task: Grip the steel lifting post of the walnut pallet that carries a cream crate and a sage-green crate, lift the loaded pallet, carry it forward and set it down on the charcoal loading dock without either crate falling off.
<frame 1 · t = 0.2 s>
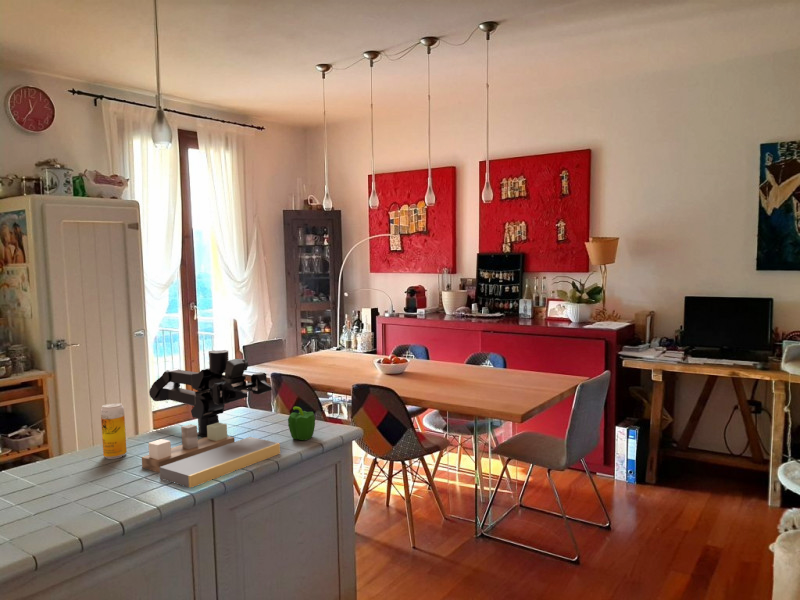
hand: (259, 391, 178), 17 cm above the worktop, tool horizontal, fingers open, 9 cm apart
pallet: (190, 457, 172), on the worktop, touching cream crate, sage crate
beer can: (115, 456, 174), on the worktop
dock: (222, 465, 164), on the worktop
sage crate: (217, 438, 179), point 3 cm above the worktop, touching pallet
cream crate: (160, 456, 164), point 3 cm above the worktop, touching pallet
bell pepper: (302, 439, 186), on the worktop
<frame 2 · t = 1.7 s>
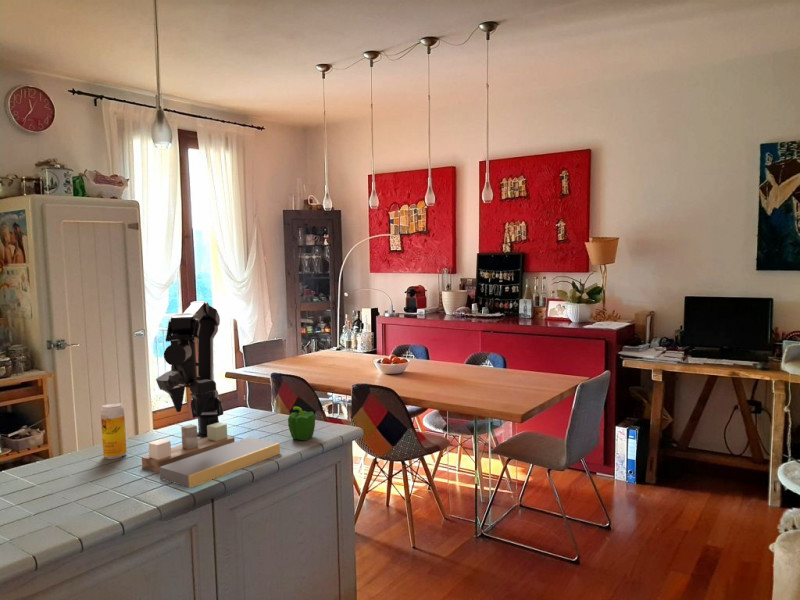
hand: (188, 413, 171), 12 cm above the worktop, tool pointing down, fingers open, 9 cm apart
nothing on the worktop moved.
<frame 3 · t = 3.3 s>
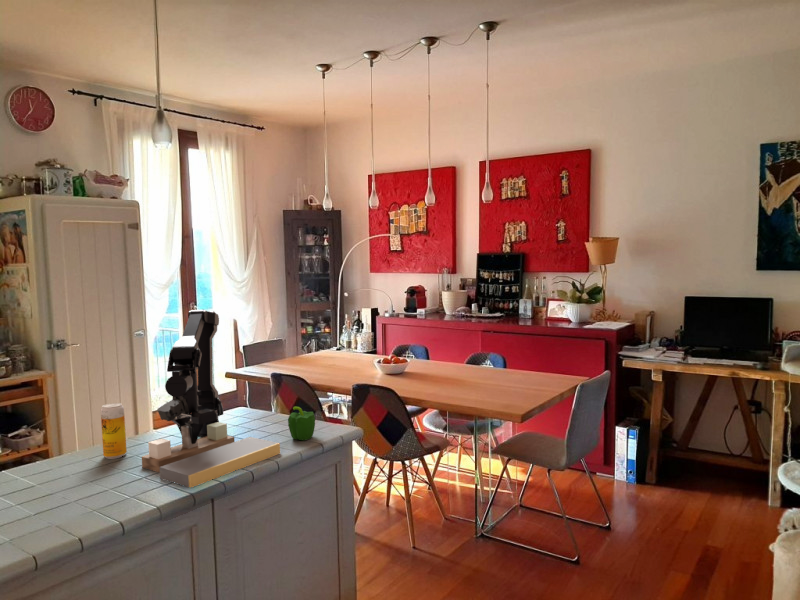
hand: (189, 442, 171), 4 cm above the worktop, tool pointing down, fingers closed on pallet, 3 cm apart
pallet: (190, 456, 172), on the worktop, touching cream crate, gripper, sage crate
everything else where it was.
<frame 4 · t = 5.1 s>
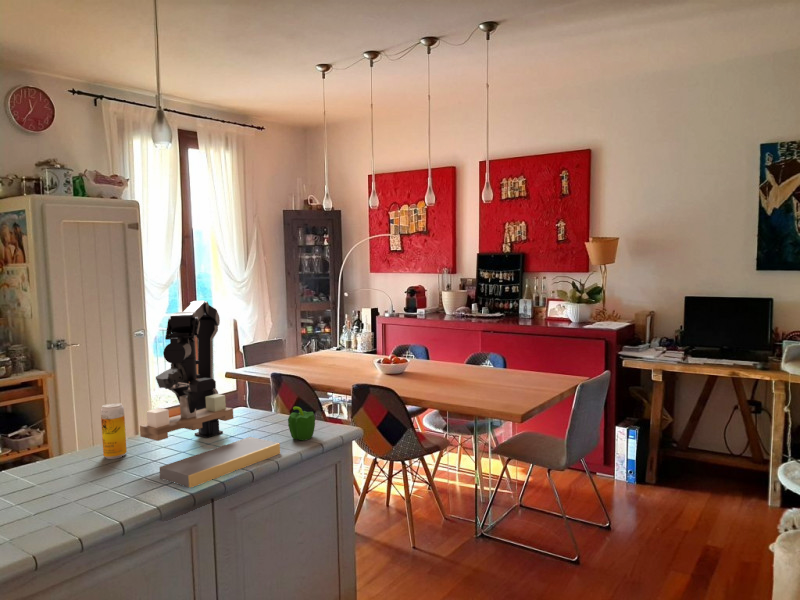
hand: (188, 412, 171), 13 cm above the worktop, tool pointing down, fingers closed on pallet, 3 cm apart
pallet: (189, 427, 171), point 9 cm above the worktop, touching cream crate, gripper, sage crate
sage crate: (216, 409, 179), point 12 cm above the worktop, touching pallet
cream crate: (158, 424, 163), point 12 cm above the worktop, touching pallet
everything else where it was.
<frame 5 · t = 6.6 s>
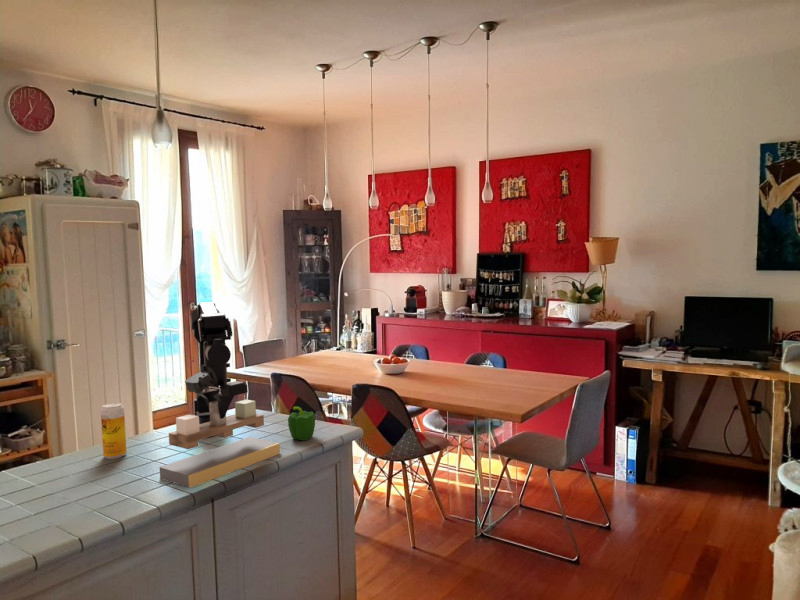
hand: (218, 417, 163), 13 cm above the worktop, tool pointing down, fingers closed on pallet, 3 cm apart
pallet: (218, 434, 163), point 8 cm above the worktop, touching cream crate, gripper, sage crate
sage crate: (245, 415, 171), point 11 cm above the worktop, touching pallet
cream crate: (188, 432, 155), point 11 cm above the worktop, touching pallet
everything else where it was.
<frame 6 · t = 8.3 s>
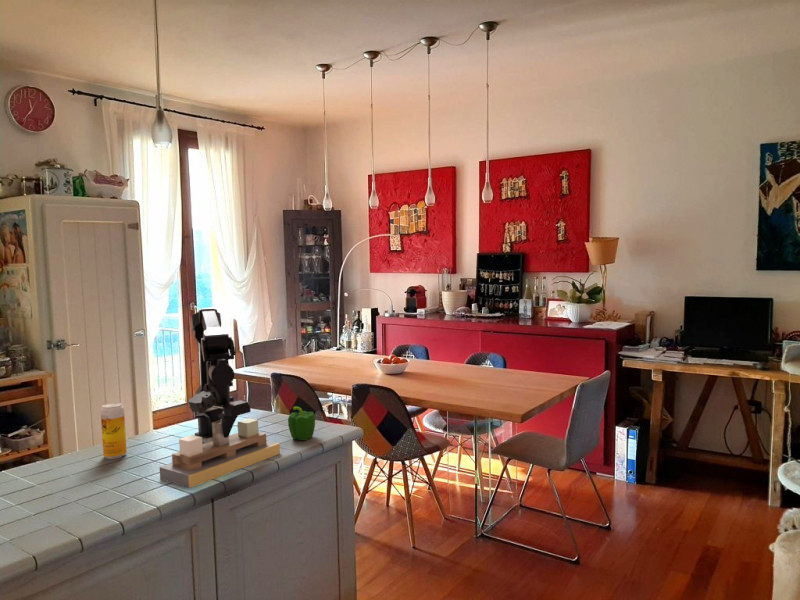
hand: (221, 436, 163), 8 cm above the worktop, tool pointing down, fingers open, 4 cm apart
pallet: (221, 454, 164), point 3 cm above the worktop, touching cream crate, dock, sage crate
sage crate: (248, 434, 171), point 6 cm above the worktop, touching pallet
cream crate: (191, 453, 156), point 6 cm above the worktop, touching pallet
everything else where it was.
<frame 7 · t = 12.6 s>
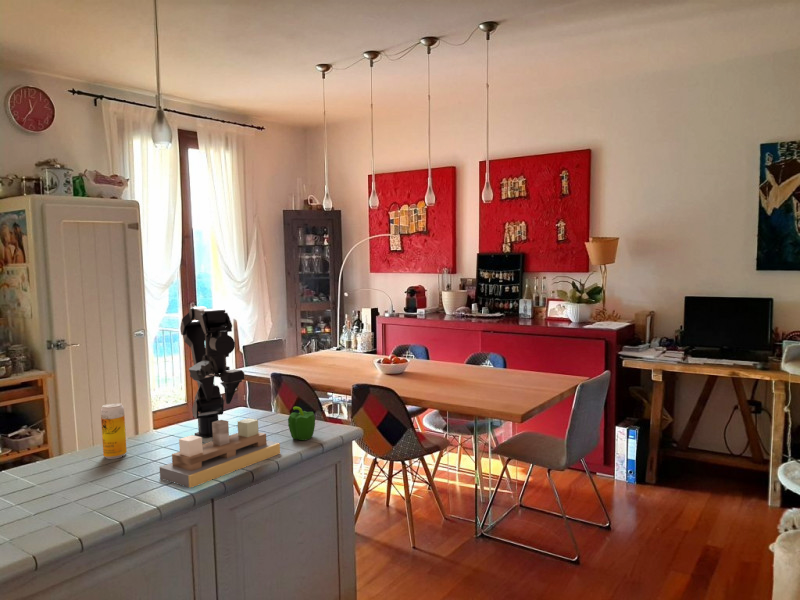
hand: (218, 402, 182), 13 cm above the worktop, tool pointing down, fingers open, 9 cm apart
nothing on the worktop moved.
at the end: pallet 0.1 cm from the target spot, point 3.0 cm above the worktop; cream crate 0.0 cm from the target spot on the pallet, point 3.0 cm above the pallet's base; sage crate 0.0 cm from the target spot on the pallet, point 3.0 cm above the pallet's base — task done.
